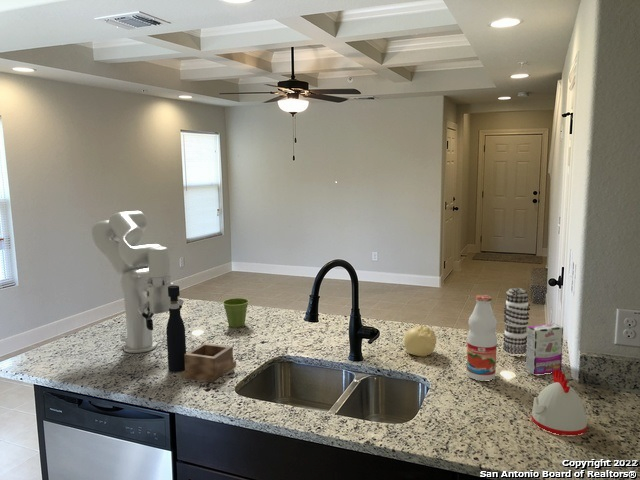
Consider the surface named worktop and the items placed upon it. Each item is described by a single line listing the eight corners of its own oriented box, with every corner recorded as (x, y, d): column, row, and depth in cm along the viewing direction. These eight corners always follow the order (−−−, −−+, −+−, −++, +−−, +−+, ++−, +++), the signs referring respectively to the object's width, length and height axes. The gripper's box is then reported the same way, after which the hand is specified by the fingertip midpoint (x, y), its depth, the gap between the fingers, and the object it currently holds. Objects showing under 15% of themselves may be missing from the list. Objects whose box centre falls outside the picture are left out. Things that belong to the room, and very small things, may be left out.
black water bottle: (181, 372, 179) (177, 289, 174) (165, 371, 180) (160, 288, 176) (190, 365, 185) (186, 284, 181) (173, 364, 186) (169, 284, 182)
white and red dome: (570, 411, 149) (573, 362, 146) (597, 436, 135) (601, 382, 133) (523, 412, 148) (525, 363, 146) (545, 437, 134) (548, 383, 132)
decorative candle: (533, 356, 191) (536, 291, 188) (512, 358, 189) (515, 293, 185) (517, 347, 200) (520, 285, 196) (496, 350, 198) (499, 287, 194)
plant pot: (221, 323, 235) (220, 299, 234) (247, 320, 239) (246, 297, 237) (224, 330, 224) (224, 305, 222) (251, 328, 228) (251, 303, 226)
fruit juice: (496, 373, 176) (500, 294, 172) (493, 384, 167) (497, 301, 163) (468, 369, 179) (471, 291, 175) (464, 379, 171) (466, 298, 167)
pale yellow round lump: (434, 360, 188) (434, 332, 186) (401, 357, 192) (401, 329, 190) (437, 350, 198) (438, 323, 197) (406, 346, 202) (407, 320, 201)
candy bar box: (551, 367, 180) (554, 322, 178) (561, 373, 176) (564, 327, 173) (524, 371, 177) (526, 325, 175) (533, 377, 173) (536, 330, 170)
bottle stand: (181, 377, 175) (180, 356, 174) (207, 360, 190) (206, 341, 189) (212, 382, 171) (211, 360, 170) (236, 364, 185) (235, 344, 184)
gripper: (141, 286, 176) (144, 334, 179) (186, 278, 188) (189, 323, 191) (132, 283, 182) (135, 329, 184) (176, 275, 194) (179, 319, 196)
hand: (162, 326), depth 187 cm, fingers open, 9 cm apart
